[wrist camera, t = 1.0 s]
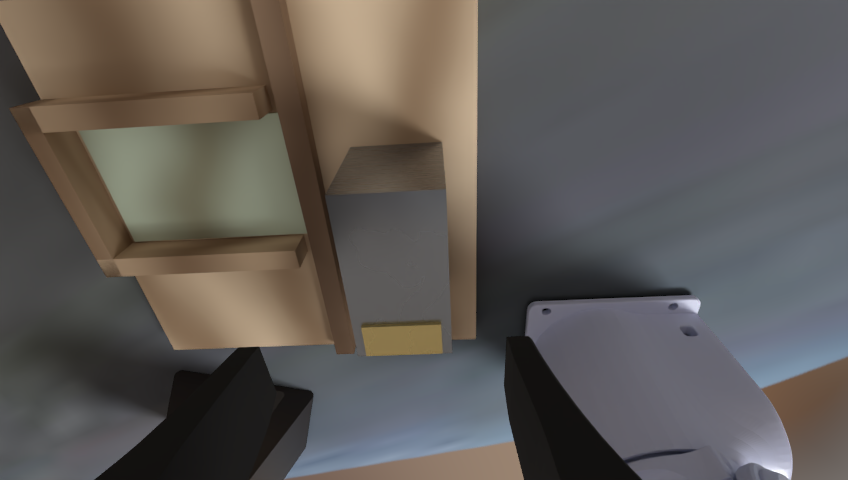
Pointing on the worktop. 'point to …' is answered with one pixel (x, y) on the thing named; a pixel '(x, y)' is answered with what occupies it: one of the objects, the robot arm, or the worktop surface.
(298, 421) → the phone stand
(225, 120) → the board
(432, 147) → the bar
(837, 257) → the worktop surface
